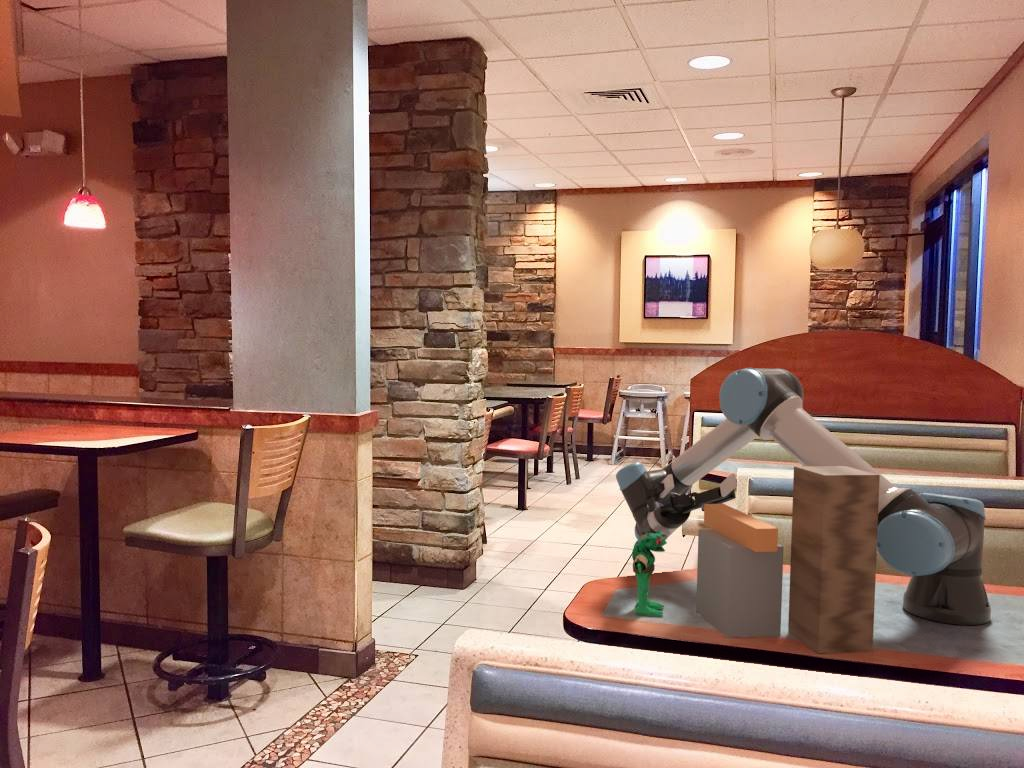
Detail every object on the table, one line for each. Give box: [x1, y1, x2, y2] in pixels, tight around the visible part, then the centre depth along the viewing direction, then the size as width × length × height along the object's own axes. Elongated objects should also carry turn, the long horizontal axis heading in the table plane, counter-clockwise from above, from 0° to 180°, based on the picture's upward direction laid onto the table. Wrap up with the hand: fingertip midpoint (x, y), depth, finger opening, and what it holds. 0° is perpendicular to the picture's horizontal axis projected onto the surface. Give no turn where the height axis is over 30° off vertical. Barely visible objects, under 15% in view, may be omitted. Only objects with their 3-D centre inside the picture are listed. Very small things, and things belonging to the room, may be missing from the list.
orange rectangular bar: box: [703, 503, 779, 552], centre depth 151 cm, size 4×22×4 cm, turn 10°
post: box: [787, 465, 880, 655], centre depth 142 cm, size 10×10×30 cm
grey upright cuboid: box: [695, 528, 785, 639], centre depth 151 cm, size 10×14×16 cm
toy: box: [631, 531, 668, 618], centre depth 158 cm, size 26×6×15 cm, turn 168°
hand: (703, 480), depth 167 cm, fingers open, 13 cm apart
